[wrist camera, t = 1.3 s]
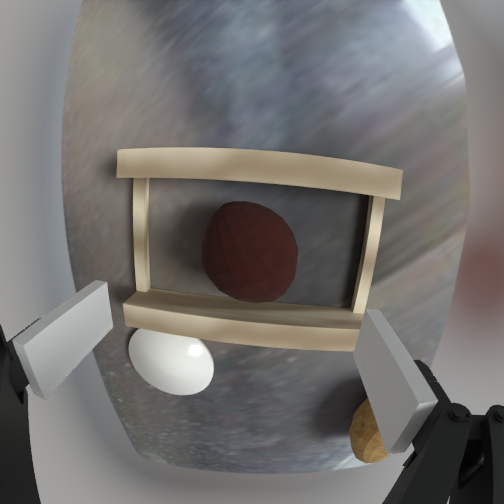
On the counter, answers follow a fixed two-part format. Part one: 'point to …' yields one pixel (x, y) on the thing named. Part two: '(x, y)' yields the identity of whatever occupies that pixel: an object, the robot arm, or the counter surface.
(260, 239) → the dark brown rounded piece
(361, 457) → the potato
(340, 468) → the counter surface
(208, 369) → the plate
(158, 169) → the cradle
